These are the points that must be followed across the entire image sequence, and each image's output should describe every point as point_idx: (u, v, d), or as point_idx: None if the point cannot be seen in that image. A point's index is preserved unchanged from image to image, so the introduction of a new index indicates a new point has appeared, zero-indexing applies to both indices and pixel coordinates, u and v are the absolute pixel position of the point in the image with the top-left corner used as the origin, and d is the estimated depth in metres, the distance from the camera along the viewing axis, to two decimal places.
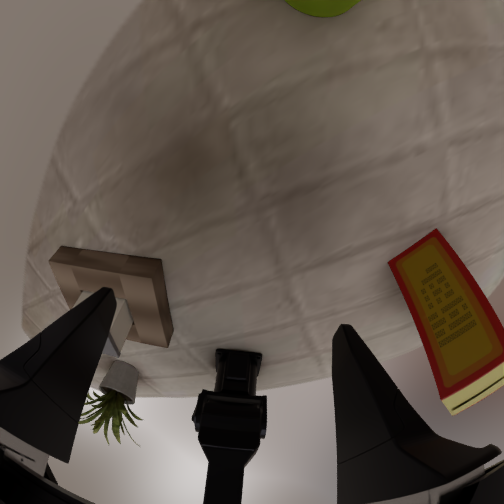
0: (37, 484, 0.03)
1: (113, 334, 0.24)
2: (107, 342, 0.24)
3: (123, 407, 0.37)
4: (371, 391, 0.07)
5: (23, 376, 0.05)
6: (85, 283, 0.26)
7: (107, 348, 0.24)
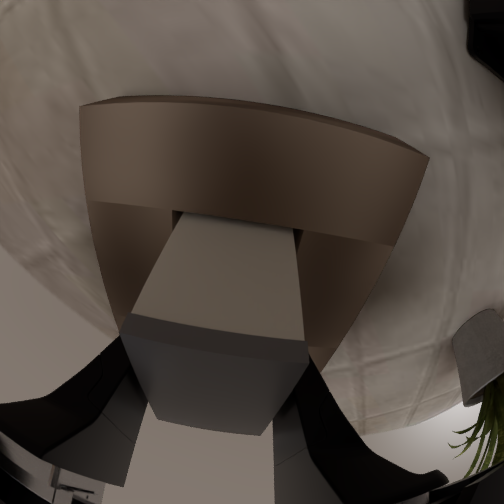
0: None
1: (170, 310, 0.06)
2: (175, 356, 0.05)
3: None
4: (294, 391, 0.07)
5: (90, 409, 0.05)
6: None
7: (233, 376, 0.06)
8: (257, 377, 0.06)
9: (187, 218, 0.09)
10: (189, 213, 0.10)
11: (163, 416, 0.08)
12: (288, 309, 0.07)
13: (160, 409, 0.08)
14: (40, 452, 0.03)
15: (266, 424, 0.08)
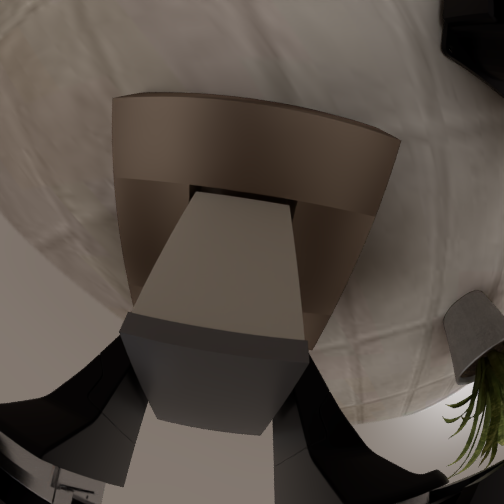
0: None
1: (170, 310, 0.06)
2: (176, 356, 0.05)
3: None
4: (294, 391, 0.07)
5: (90, 409, 0.05)
6: None
7: (233, 376, 0.06)
8: (257, 377, 0.06)
9: (187, 218, 0.09)
10: (189, 213, 0.10)
11: (163, 416, 0.08)
12: (288, 309, 0.07)
13: (160, 409, 0.08)
14: (40, 452, 0.03)
15: (266, 424, 0.08)
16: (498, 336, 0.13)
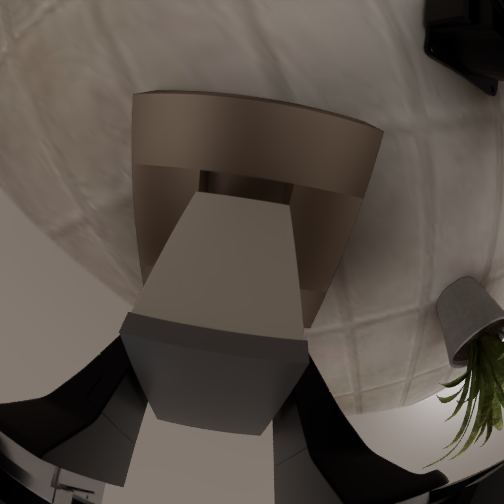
0: None
1: (170, 310, 0.06)
2: (176, 356, 0.05)
3: (503, 346, 0.13)
4: (294, 391, 0.07)
5: (90, 409, 0.05)
6: None
7: (233, 376, 0.06)
8: (257, 377, 0.06)
9: (187, 218, 0.09)
10: (189, 213, 0.10)
11: (163, 416, 0.08)
12: (288, 309, 0.07)
13: (160, 409, 0.08)
14: (40, 452, 0.03)
15: (266, 424, 0.08)
16: (488, 318, 0.14)
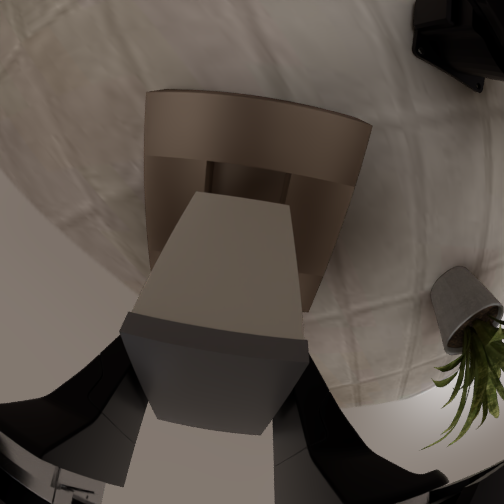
0: None
1: (170, 310, 0.06)
2: (176, 356, 0.05)
3: (496, 331, 0.14)
4: (294, 391, 0.07)
5: (90, 409, 0.05)
6: None
7: (233, 376, 0.06)
8: (257, 376, 0.06)
9: (187, 218, 0.09)
10: (189, 213, 0.10)
11: (163, 416, 0.08)
12: (288, 308, 0.07)
13: (160, 409, 0.08)
14: (40, 452, 0.03)
15: (266, 424, 0.08)
16: (480, 304, 0.16)
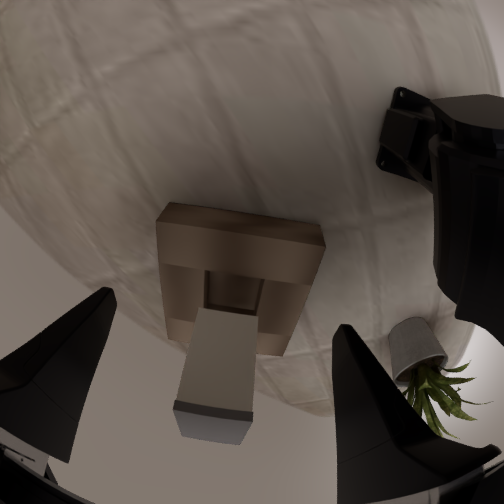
0: (37, 484, 0.03)
1: (193, 398, 0.12)
2: (197, 417, 0.12)
3: (435, 376, 0.21)
4: (371, 391, 0.07)
5: (23, 376, 0.05)
6: (189, 312, 0.23)
7: (222, 423, 0.12)
8: (232, 424, 0.12)
9: (195, 335, 0.16)
10: (196, 330, 0.16)
11: (186, 435, 0.15)
12: (246, 395, 0.13)
13: (185, 432, 0.14)
14: None
15: (241, 440, 0.14)
16: (422, 354, 0.22)
